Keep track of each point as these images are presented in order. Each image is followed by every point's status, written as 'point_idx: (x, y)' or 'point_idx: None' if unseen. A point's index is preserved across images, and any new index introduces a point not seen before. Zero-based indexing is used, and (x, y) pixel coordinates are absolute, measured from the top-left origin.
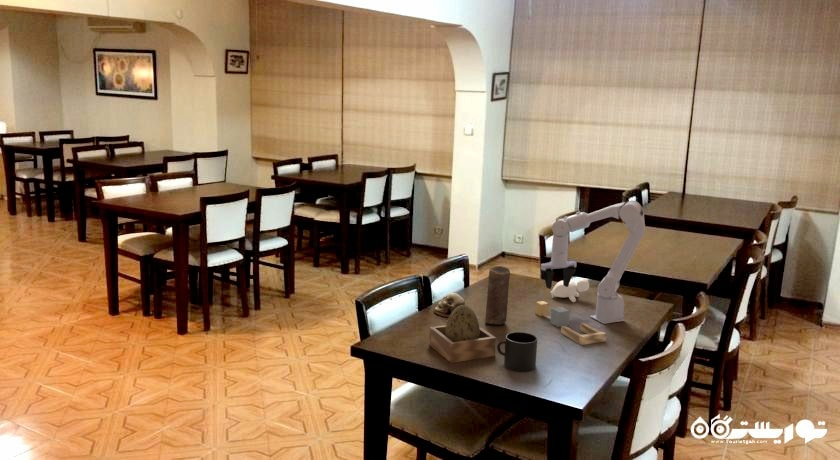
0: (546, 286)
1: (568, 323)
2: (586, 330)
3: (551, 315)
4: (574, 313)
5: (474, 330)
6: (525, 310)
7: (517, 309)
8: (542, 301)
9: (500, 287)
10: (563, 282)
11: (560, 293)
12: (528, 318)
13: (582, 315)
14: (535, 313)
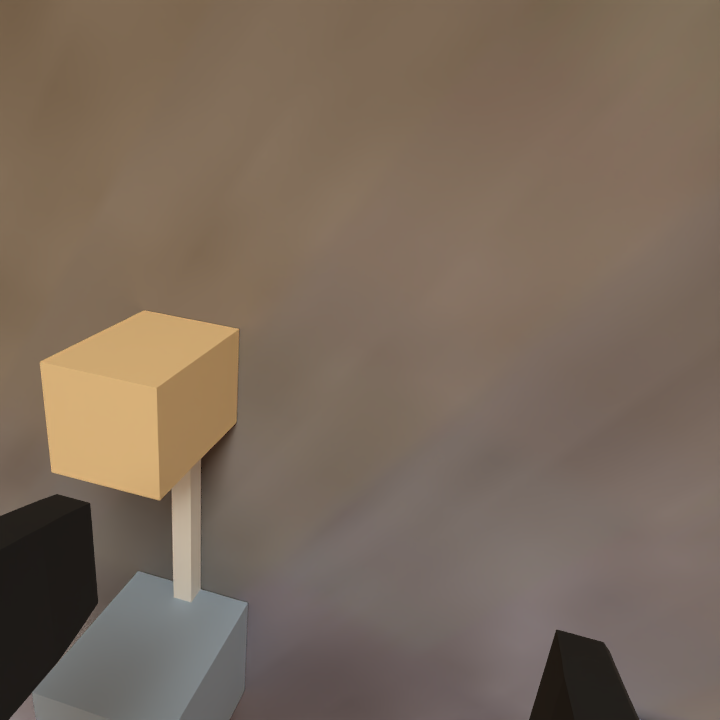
0: (33, 513)
1: (234, 706)
2: None
3: (88, 635)
4: (570, 546)
5: None
6: (91, 160)
7: (17, 76)
8: (128, 398)
9: None
10: (561, 692)
11: None
12: (10, 383)
13: (596, 632)
14: (143, 312)
